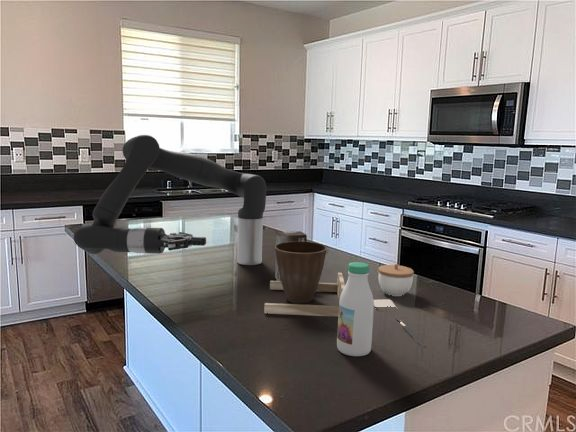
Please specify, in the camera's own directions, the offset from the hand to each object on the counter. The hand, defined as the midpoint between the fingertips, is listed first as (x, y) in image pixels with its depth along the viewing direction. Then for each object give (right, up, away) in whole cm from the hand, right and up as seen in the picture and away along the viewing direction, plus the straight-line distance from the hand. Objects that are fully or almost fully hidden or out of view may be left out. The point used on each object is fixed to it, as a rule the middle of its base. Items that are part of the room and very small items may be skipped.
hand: (205, 241), depth 134 cm
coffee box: (+25, -14, +20) cm, 35 cm away
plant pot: (+27, -17, +2) cm, 32 cm away
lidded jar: (+57, -17, +11) cm, 61 cm away
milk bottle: (+39, -23, -29) cm, 54 cm away
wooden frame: (+29, -18, +1) cm, 34 cm away
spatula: (+53, -21, -12) cm, 59 cm away
